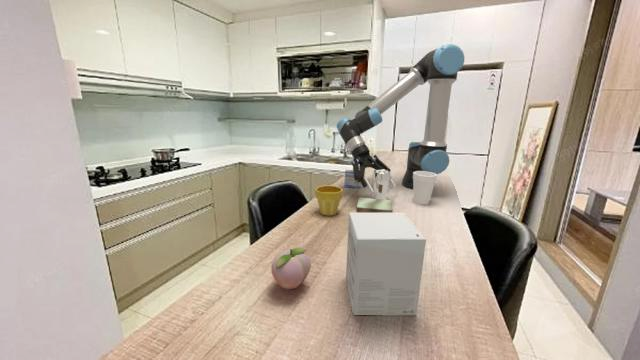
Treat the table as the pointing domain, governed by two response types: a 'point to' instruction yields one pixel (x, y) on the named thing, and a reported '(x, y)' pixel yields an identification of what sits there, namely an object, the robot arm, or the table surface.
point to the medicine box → (350, 180)
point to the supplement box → (384, 264)
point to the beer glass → (381, 184)
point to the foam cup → (423, 186)
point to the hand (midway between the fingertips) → (382, 190)
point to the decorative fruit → (291, 268)
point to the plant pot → (328, 199)
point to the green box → (374, 206)
